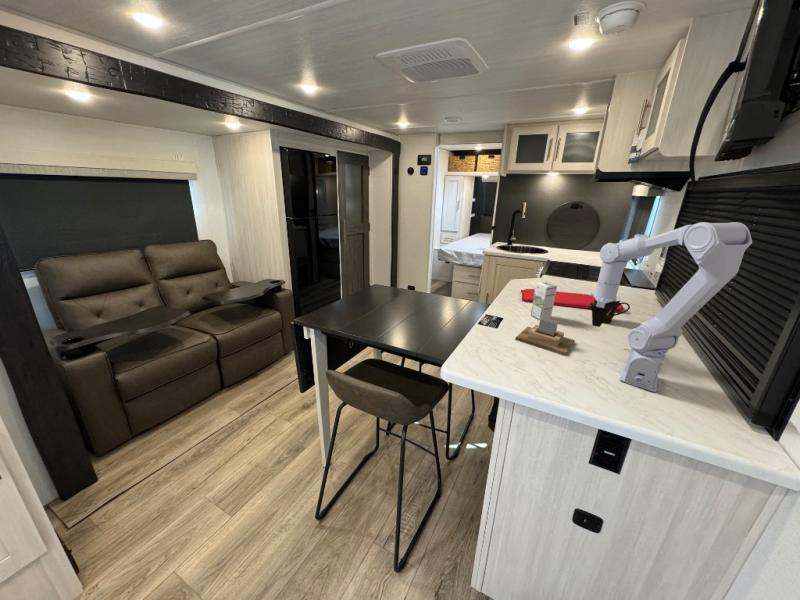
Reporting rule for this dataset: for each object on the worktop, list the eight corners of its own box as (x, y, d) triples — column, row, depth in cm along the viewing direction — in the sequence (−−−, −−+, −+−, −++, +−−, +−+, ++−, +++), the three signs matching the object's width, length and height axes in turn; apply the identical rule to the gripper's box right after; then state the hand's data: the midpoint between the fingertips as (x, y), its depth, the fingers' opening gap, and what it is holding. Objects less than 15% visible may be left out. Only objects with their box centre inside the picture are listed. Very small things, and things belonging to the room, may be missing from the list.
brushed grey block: (551, 342, 103) (555, 323, 101) (536, 338, 106) (540, 319, 104) (554, 339, 106) (558, 321, 103) (539, 335, 109) (542, 317, 106)
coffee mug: (585, 319, 125) (591, 296, 122) (593, 314, 130) (599, 292, 127) (618, 329, 117) (625, 304, 113) (625, 323, 122) (632, 300, 118)
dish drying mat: (520, 292, 158) (521, 285, 156) (611, 302, 146) (613, 295, 145) (521, 302, 144) (523, 295, 142) (622, 314, 132) (625, 306, 131)
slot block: (564, 355, 97) (567, 346, 96) (515, 339, 107) (516, 330, 106) (574, 342, 106) (576, 333, 105) (527, 328, 116) (528, 320, 114)
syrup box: (551, 319, 125) (558, 285, 120) (540, 321, 123) (546, 286, 118) (540, 313, 130) (546, 281, 125) (529, 315, 128) (535, 282, 123)
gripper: (597, 275, 103) (588, 312, 107) (589, 284, 92) (579, 325, 97) (623, 279, 98) (612, 318, 103) (617, 289, 88) (605, 332, 92)
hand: (598, 322), depth 100 cm, fingers open, 7 cm apart
